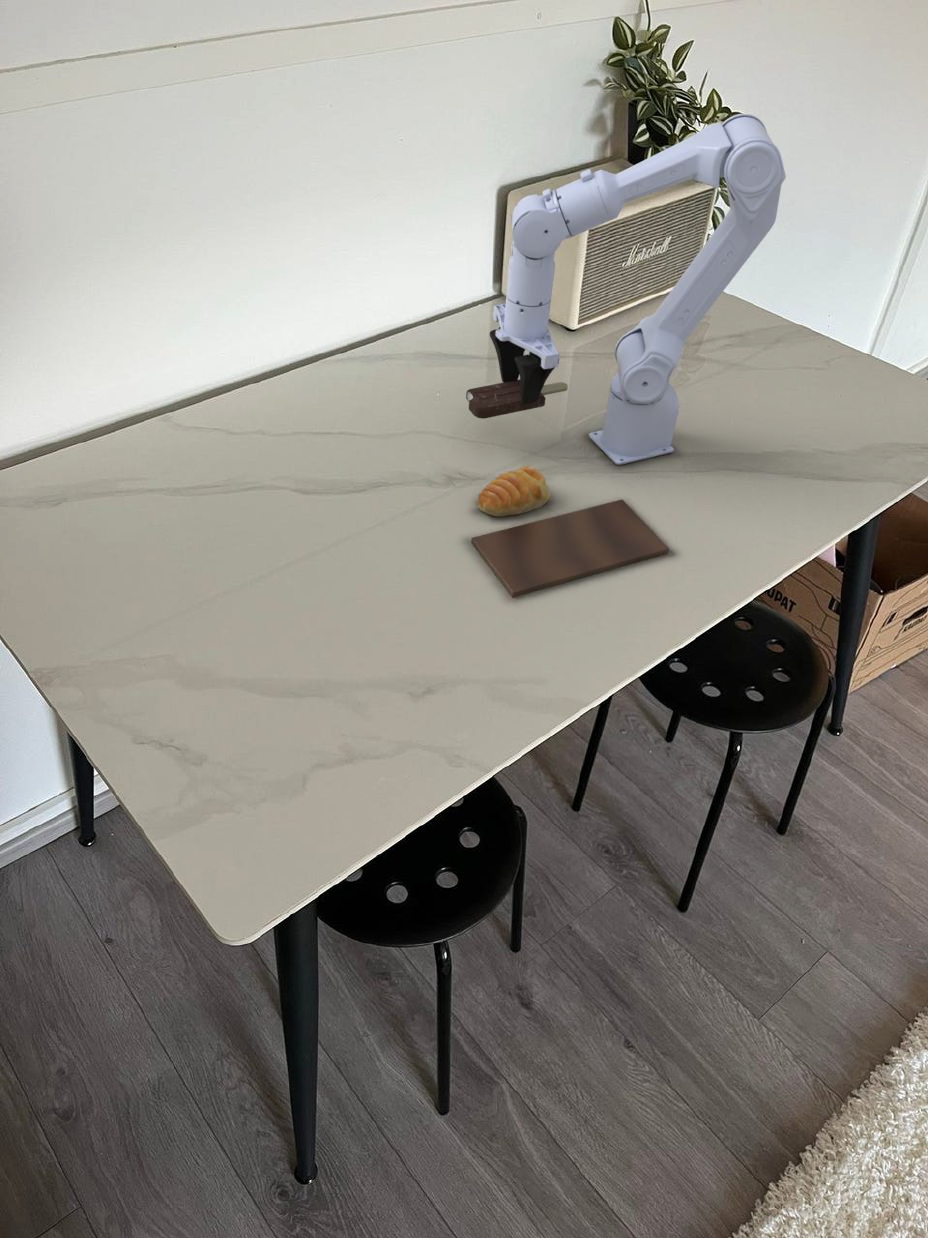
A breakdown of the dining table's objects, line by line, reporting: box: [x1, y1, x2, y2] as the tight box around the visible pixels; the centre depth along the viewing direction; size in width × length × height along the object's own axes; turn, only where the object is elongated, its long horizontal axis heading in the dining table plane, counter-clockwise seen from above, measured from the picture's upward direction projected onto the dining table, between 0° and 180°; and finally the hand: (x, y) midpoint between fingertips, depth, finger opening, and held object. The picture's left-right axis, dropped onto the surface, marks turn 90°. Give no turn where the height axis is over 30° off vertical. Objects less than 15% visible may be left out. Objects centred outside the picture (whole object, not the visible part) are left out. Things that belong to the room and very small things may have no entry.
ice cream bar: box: [465, 378, 569, 419], centre depth 141 cm, size 5×2×15 cm
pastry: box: [477, 465, 551, 518], centre depth 133 cm, size 9×7×4 cm
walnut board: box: [470, 499, 670, 598], centre depth 128 cm, size 22×11×1 cm, turn 116°
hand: (519, 391), depth 140 cm, fingers closed on ice cream bar, 5 cm apart
